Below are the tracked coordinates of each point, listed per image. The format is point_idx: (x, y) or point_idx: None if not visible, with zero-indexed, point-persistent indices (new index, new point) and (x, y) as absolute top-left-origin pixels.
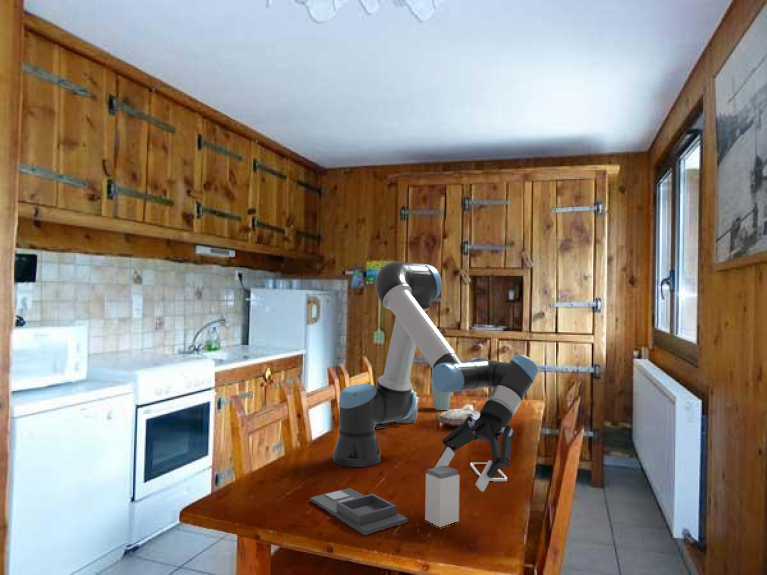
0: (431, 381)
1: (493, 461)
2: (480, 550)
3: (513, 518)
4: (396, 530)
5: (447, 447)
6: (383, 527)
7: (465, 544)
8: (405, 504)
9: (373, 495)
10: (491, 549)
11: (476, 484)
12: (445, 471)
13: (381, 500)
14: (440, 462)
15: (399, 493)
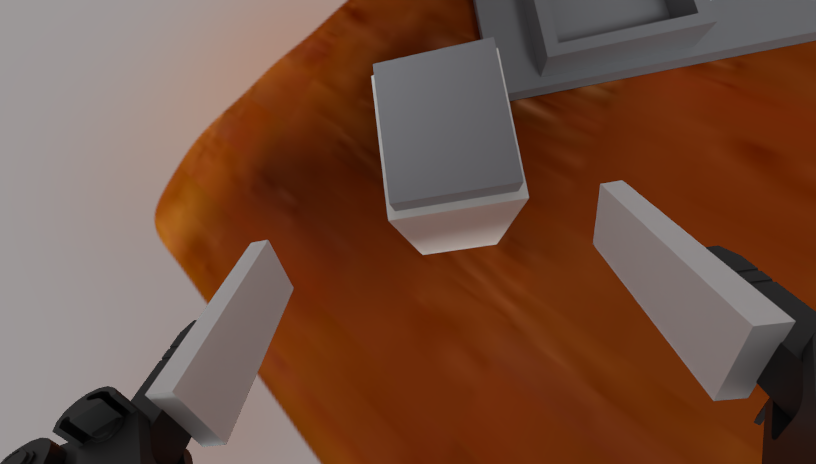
0: None
1: (136, 407)
2: (250, 197)
3: (357, 460)
4: None
5: (780, 316)
6: (477, 15)
7: (295, 182)
8: (651, 169)
9: (694, 16)
10: (239, 227)
11: (258, 241)
12: (404, 117)
13: (629, 29)
14: (630, 213)
15: (789, 204)
